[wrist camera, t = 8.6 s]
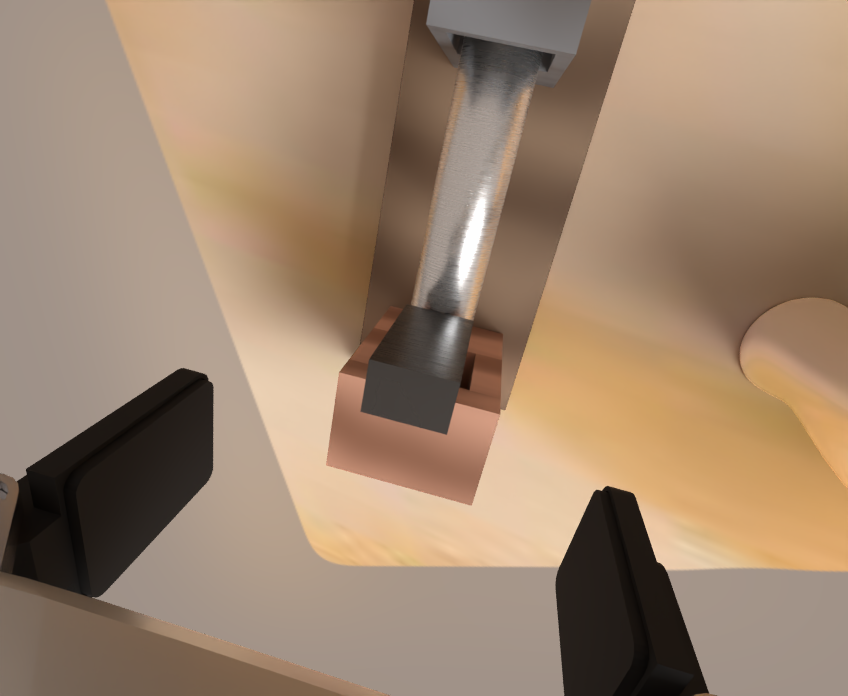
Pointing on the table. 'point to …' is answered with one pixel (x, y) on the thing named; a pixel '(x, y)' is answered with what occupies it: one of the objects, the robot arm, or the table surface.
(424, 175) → the tube rig
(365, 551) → the table surface
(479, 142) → the tube
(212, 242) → the table surface
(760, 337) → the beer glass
